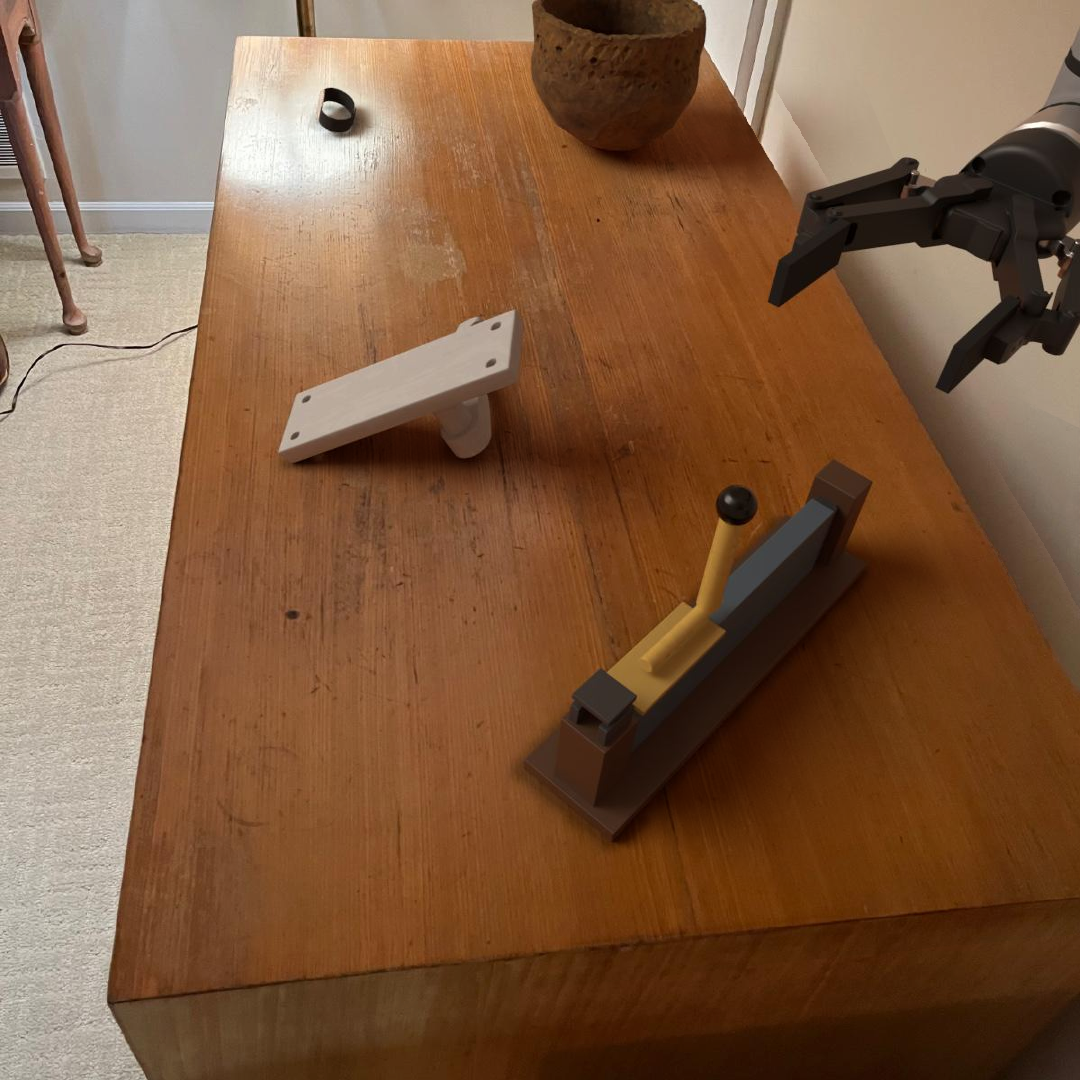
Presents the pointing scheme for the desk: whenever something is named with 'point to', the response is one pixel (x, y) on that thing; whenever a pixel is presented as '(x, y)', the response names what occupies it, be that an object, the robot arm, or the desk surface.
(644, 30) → the bowl
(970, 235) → the robot arm
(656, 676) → the sliding lever mechanism
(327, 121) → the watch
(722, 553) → the bolt
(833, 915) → the desk surface
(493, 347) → the handle
